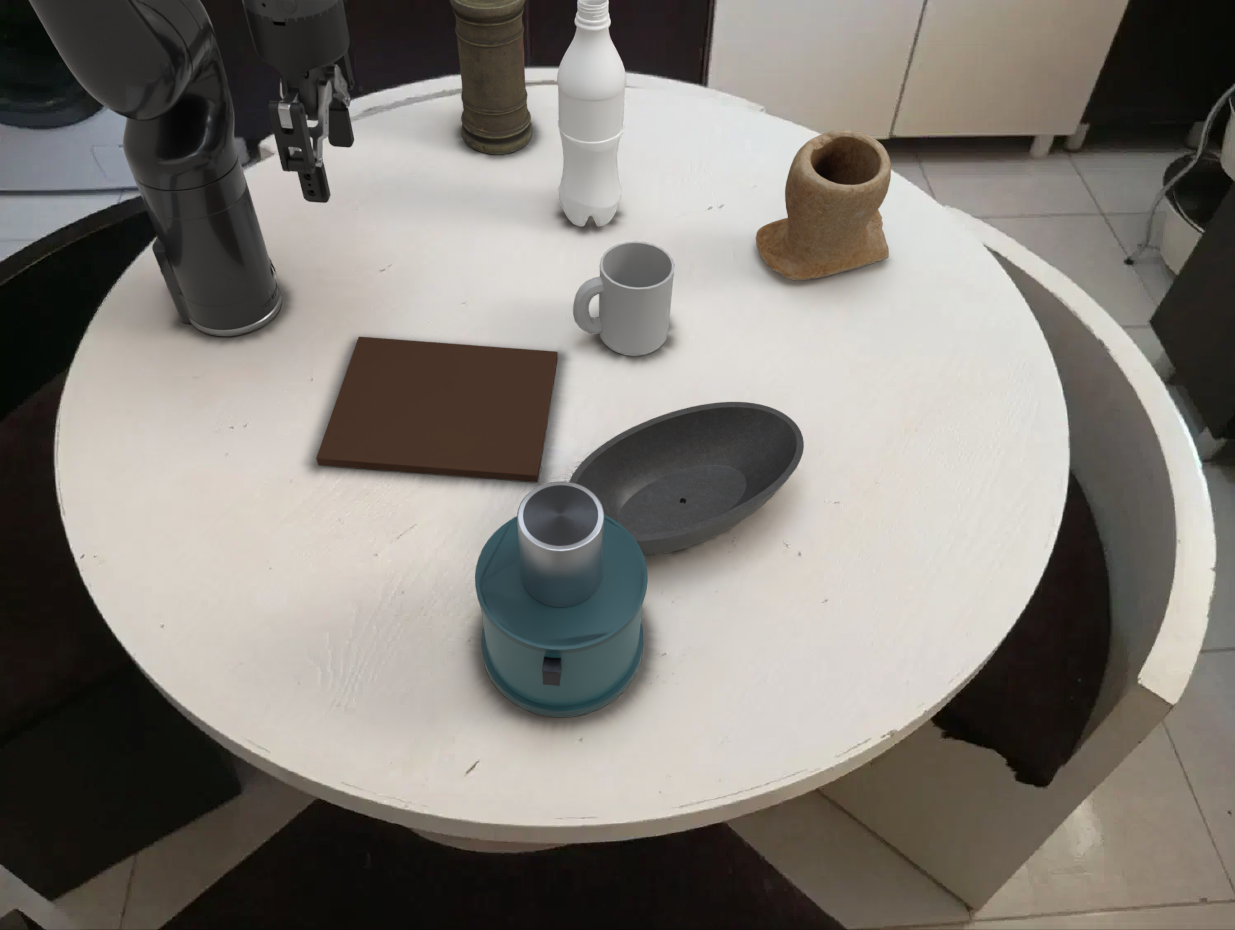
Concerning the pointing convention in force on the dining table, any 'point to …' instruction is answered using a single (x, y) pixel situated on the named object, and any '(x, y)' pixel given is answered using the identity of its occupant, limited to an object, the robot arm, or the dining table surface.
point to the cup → (629, 298)
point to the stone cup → (830, 208)
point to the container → (492, 75)
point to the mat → (442, 409)
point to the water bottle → (591, 118)
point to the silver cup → (561, 543)
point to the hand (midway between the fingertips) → (330, 172)
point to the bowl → (692, 471)
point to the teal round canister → (562, 628)
